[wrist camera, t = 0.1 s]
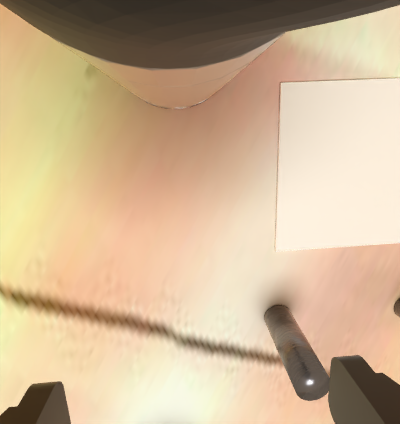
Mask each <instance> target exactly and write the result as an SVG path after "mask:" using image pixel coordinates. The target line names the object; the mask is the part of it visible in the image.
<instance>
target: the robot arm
mask: <svg viewBox="0 0 400 424" xmlns="http://www.w3.org/2000/svg"><path fill="white" fill-rule="evenodd" d="M0 3H1V4H2V5H3V6H5V7H6V8H8V9H9V10H11V11H12V12H14V13H15V14H17V15H18V16H20V17H21V18H22V19H24V20H25V21H27V22H28V23H30V24H31V25H33V26H34V27H36V28H37V29H39V30H41V31H42V32H44V33H45V34H47V35H49V36H50V37H52V38H53V39H55V40H56V41H58V42H59V43H61V44H62V45H63V46H65V47H66V48H68V49H69V50H71V51H72V52H74V53H75V54H77V55H78V56H80V57H81V58H83V59H84V60H86V61H87V62H88V63H90V64H91V65H93V66H94V67H96V68H97V69H99V70H100V71H102V72H103V73H104V74H106V75H107V76H109V77H110V78H112V79H113V80H114V81H116V82H117V83H119V84H120V85H122V86H123V87H125V88H126V89H127V90H129V91H130V92H132V93H133V94H134V95H136V96H137V97H139V98H140V99H142V100H144V101H145V102H147V103H149V104H151V105H154V106H157V107H161V108H165V109H183V108H189V107H192V106H195V105H198V104H200V103H202V102H204V101H206V100H207V99H208V98H209V97H211V96H212V95H213V94H215V93H216V92H217V91H218V90H220V89H221V88H222V87H223V86H224V85H225V84H227V83H228V82H229V81H230V80H231V79H232V78H234V77H235V76H236V75H237V74H238V73H239V72H241V71H242V70H243V69H244V68H245V67H246V66H248V65H249V64H250V63H251V62H252V61H253V60H255V59H256V58H257V57H258V56H259V55H260V54H261V53H263V52H264V51H265V50H266V49H267V48H268V47H270V46H271V45H272V44H273V43H274V42H275V41H276V40H277V39H278V38H280V37H281V36H282V35H283V34H284V33H285V32H287V31H291V30H296V29H301V28H306V27H310V26H315V25H320V24H325V23H329V22H334V21H339V20H343V19H348V18H352V17H356V16H360V15H364V14H368V13H372V12H376V11H380V10H383V9H387V8H390V7H394V6H397V5H400V0H0ZM328 402H329V408H330V411H331V415H332V417H333V420H334V422H335V424H400V385H399V384H398V383H396V382H395V381H393V380H392V379H391V378H389V377H388V376H386V375H385V374H383V373H375V372H374V371H373V370H372V368H371V367H370V366H369V365H368V364H367V362H366V361H365V360H364V359H363V358H362V357H361V356H359V355H354V356H343V357H334V358H332V360H331V368H330V381H329V394H328ZM0 424H71V421H70V416H69V411H68V406H67V401H66V396H65V391H64V386H63V384H62V382H48V383H38V384H32V385H31V386H30V387H29V388H28V390H27V391H26V393H25V395H24V397H23V398H22V400H21V402H20V403H19V405H18V407H9V408H8V409H7V410H6V411H5V412H4V413H2V414H1V415H0Z"/></svg>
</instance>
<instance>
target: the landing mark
mask: <svg viewBox="0 0 400 424" xmlns="http://www.w3.org/2000/svg"><path fill="white" fill-rule="evenodd" d="M392 243H400V78H388V79H362V80H336V81H310V82H284V83H280V107H279V138H278V170H277V202H276V233H275V251H276V252H278V251H292V250H306V249H321V248H335V247H349V246H363V245H378V244H392Z"/></svg>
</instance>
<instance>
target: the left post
mask: <svg viewBox="0 0 400 424" xmlns="http://www.w3.org/2000/svg"><path fill="white" fill-rule="evenodd" d="M264 320H265V323H266V325H267V327H268V330H269V332H270V334H271V337H272V339H273V341H274V343H275V346H276V348H277V350H278V353H279V355H280V357H281V359H282V362H283V364H284V366H285V368H286V371H287V373H288V375H289V378H290V380H291V382H292V384H293V387H294V389H295V391H296V394H297V395H298V396H299V397H300V398H301V399H303V400H308V401H312V400H317V399H319V398H321V397H323V396H324V395H326V394H327V393H328V391H329V381H330V378H329V376H328V375H327V373H326V371H325V369H324V368H323V366H322V364H321V363H320V361H319V359H318V358H317V356H316V354H315V353H314V351H313V349H312V348H311V346H310V344H309V343H308V341H307V339H306V338H305V336H304V334H303V333H302V331H301V329H300V328H299V326H298V324H297V322H296V321H295V319H294V317H293V316H292V314H291V312H290V311H289V309H288V308H287V307H285V306H283V305H275V306H273V307H271V308H269V309H268V310H267V311H266V313H265V316H264Z"/></svg>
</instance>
